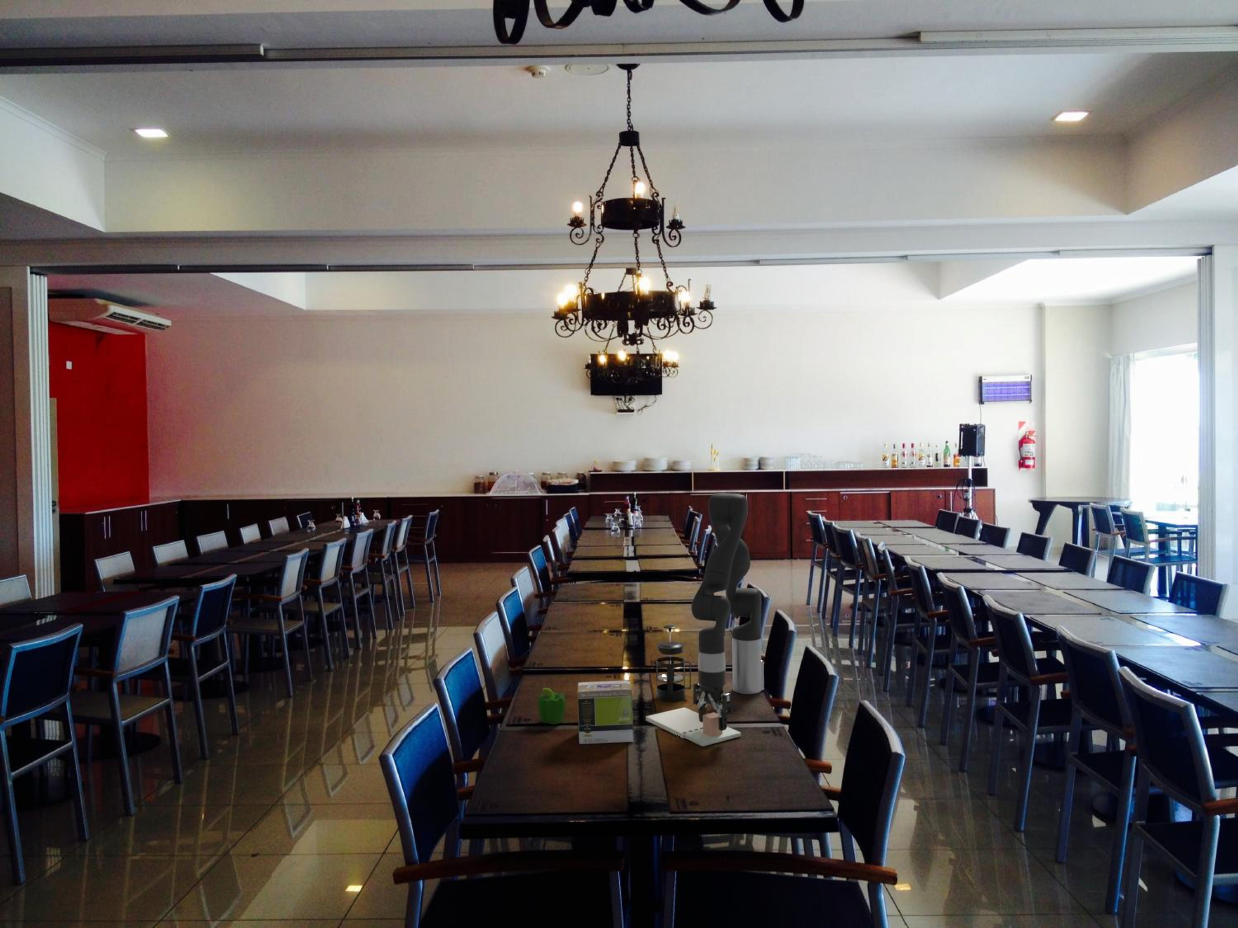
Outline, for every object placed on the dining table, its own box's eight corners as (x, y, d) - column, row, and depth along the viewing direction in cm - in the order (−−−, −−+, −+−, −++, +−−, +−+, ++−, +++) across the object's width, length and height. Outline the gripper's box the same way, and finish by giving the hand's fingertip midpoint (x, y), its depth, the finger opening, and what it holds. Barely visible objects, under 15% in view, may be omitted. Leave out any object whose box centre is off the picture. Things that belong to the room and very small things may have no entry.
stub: (684, 737, 238) (684, 716, 238) (722, 727, 245) (722, 706, 245) (702, 746, 231) (702, 724, 231) (740, 735, 239) (740, 714, 238)
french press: (653, 701, 271) (651, 628, 270) (655, 692, 280) (654, 622, 279) (690, 702, 269) (689, 629, 268) (691, 693, 279) (690, 622, 278)
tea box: (631, 730, 245) (630, 678, 245) (633, 743, 235) (632, 689, 235) (578, 732, 245) (577, 680, 244) (578, 744, 235) (577, 691, 234)
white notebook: (646, 720, 253) (646, 715, 253) (684, 711, 261) (684, 706, 261) (682, 738, 238) (682, 733, 238) (722, 727, 246) (722, 723, 246)
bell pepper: (572, 719, 255) (571, 686, 255) (556, 728, 248) (555, 693, 248) (548, 715, 260) (548, 682, 259) (532, 723, 252) (531, 689, 252)
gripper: (739, 670, 234) (740, 730, 234) (706, 659, 246) (707, 716, 246) (717, 675, 230) (718, 735, 230) (685, 663, 242) (686, 721, 242)
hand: (712, 725), depth 238 cm, fingers open, 8 cm apart
